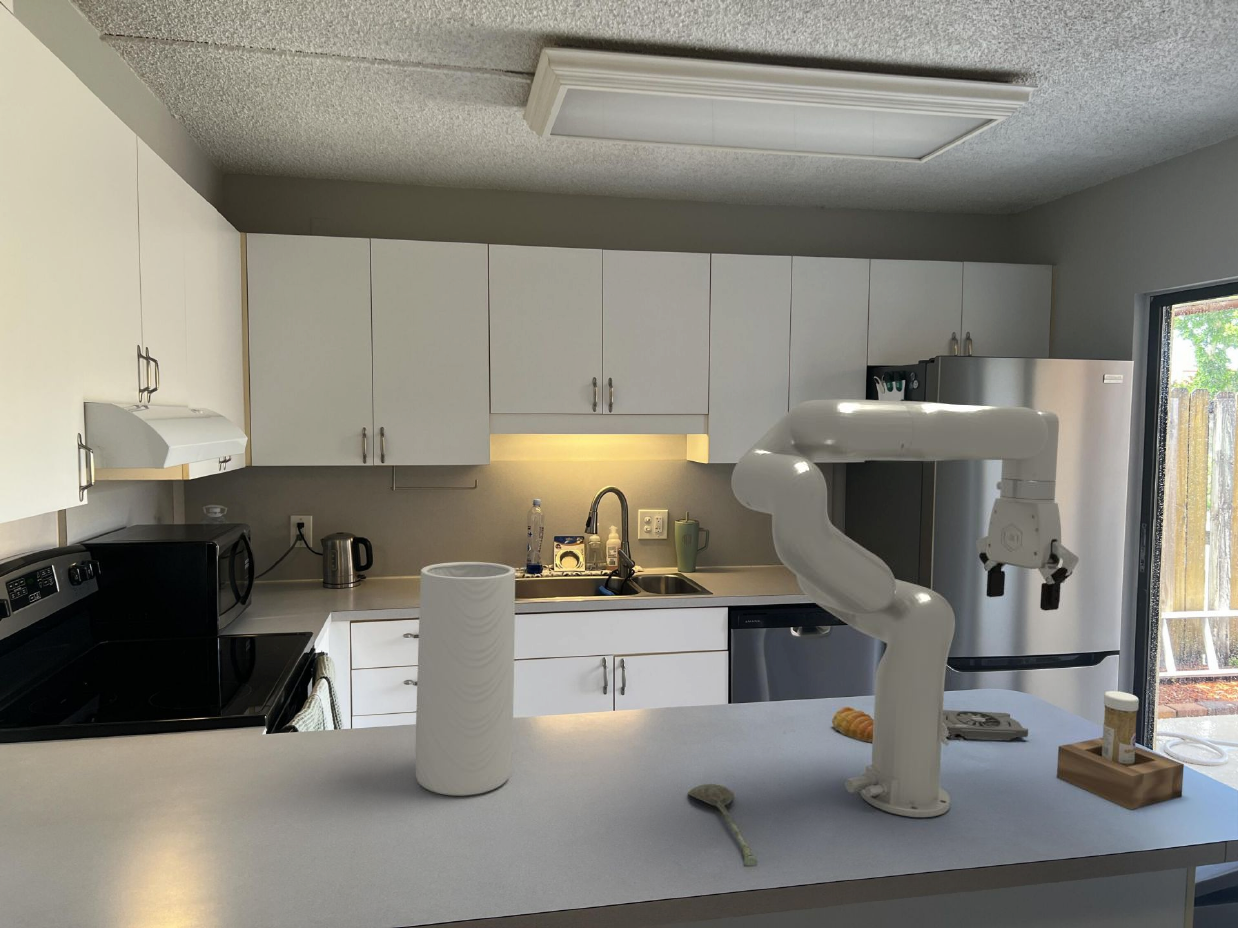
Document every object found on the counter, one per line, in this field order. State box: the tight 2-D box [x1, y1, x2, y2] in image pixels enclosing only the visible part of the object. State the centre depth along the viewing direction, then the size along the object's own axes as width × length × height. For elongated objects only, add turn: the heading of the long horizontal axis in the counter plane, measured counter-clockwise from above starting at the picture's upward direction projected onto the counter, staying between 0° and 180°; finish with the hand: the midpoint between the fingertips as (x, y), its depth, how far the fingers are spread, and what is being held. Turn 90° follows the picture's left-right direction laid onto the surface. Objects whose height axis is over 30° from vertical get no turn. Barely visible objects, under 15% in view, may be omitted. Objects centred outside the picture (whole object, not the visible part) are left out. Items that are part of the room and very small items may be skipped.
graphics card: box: [941, 709, 1029, 746], centre depth 151 cm, size 17×4×12 cm
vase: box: [414, 561, 516, 797], centre depth 125 cm, size 14×14×32 cm
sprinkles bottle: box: [1102, 690, 1140, 767], centre depth 130 cm, size 5×5×14 cm
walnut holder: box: [1056, 737, 1185, 811], centre depth 130 cm, size 12×12×5 cm
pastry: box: [831, 706, 874, 743], centre depth 149 cm, size 9×7×4 cm
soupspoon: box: [687, 783, 759, 867], centre depth 114 cm, size 22×3×7 cm
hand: (1021, 602), depth 129 cm, fingers open, 9 cm apart
